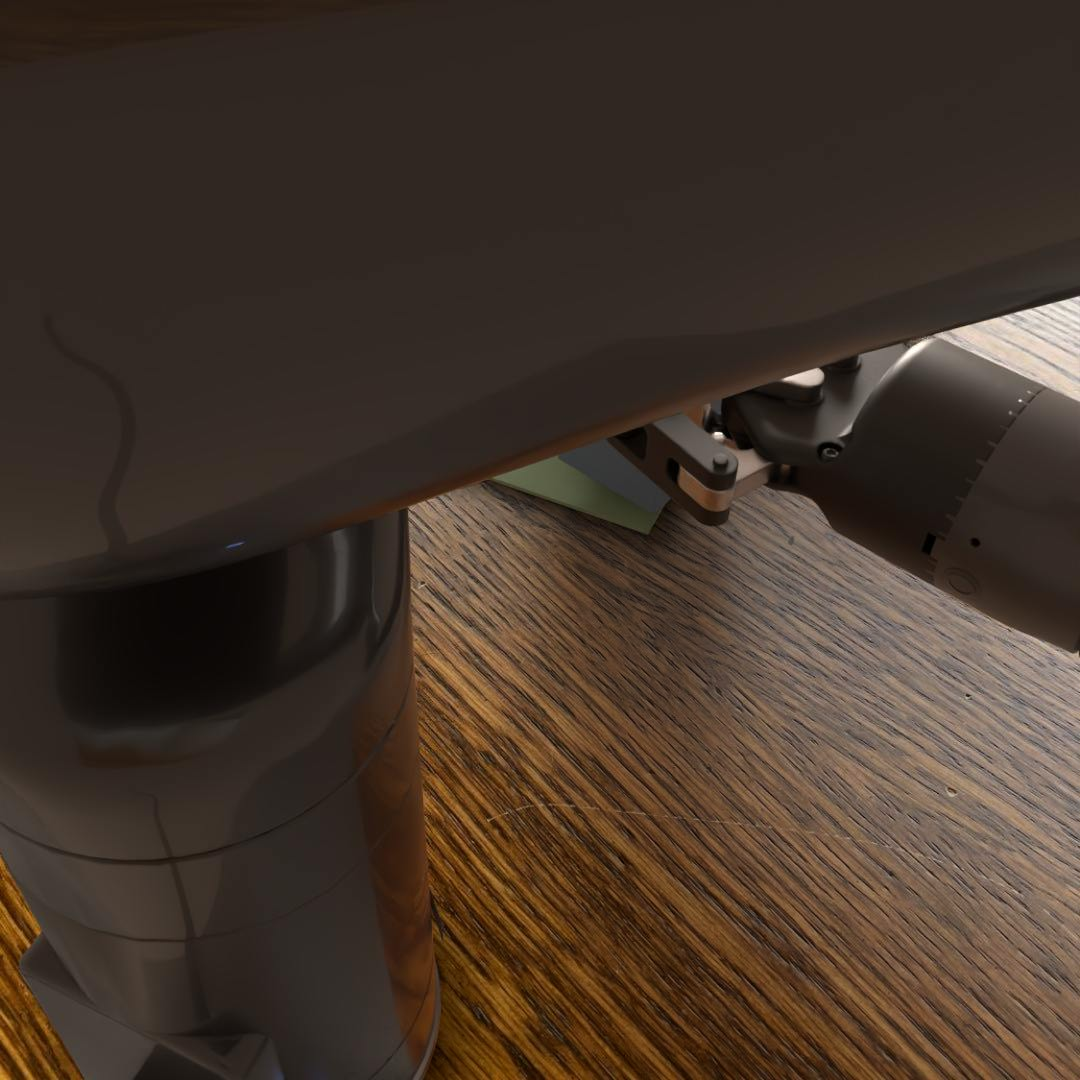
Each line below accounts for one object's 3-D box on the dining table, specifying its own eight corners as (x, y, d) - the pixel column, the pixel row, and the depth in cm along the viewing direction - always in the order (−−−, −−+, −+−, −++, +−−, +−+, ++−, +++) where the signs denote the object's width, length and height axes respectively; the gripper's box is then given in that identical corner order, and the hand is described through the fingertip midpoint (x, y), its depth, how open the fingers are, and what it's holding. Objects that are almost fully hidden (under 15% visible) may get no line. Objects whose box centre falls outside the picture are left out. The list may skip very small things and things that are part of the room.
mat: (647, 534, 52) (648, 531, 52) (412, 453, 55) (412, 450, 55) (733, 382, 59) (734, 379, 59) (520, 317, 62) (520, 314, 62)
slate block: (723, 452, 54) (759, 250, 46) (653, 515, 51) (680, 311, 44) (629, 401, 56) (650, 201, 49) (557, 458, 53) (567, 255, 46)
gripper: (1127, 306, 43) (717, 136, 51) (927, 532, 36) (477, 292, 43) (1056, 466, 49) (695, 292, 56) (869, 693, 41) (478, 456, 48)
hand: (602, 293), depth 49 cm, fingers closed on slate block, 5 cm apart
